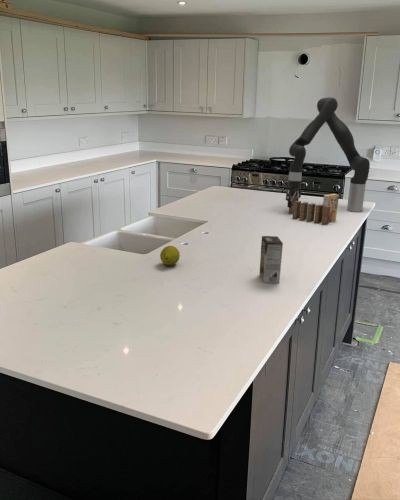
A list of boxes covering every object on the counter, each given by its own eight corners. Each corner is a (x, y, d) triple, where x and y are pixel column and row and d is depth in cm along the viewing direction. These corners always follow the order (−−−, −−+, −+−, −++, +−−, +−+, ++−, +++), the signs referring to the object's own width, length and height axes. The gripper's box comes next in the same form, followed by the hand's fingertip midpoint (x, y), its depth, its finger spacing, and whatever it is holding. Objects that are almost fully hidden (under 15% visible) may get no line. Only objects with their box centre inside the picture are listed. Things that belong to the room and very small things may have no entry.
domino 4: (310, 220, 292) (312, 203, 289) (313, 220, 291) (315, 203, 288) (306, 221, 288) (308, 204, 285) (309, 222, 287) (311, 204, 284)
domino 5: (317, 221, 289) (319, 204, 286) (321, 222, 288) (323, 204, 285) (314, 223, 286) (315, 205, 283) (317, 223, 285) (319, 206, 282)
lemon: (166, 260, 217) (166, 241, 214) (183, 262, 214) (183, 244, 212) (155, 267, 207) (155, 248, 205) (172, 270, 204) (172, 251, 202)
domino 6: (325, 223, 287) (327, 205, 284) (328, 223, 286) (330, 206, 283) (321, 224, 283) (323, 207, 280) (324, 225, 282) (326, 207, 279)
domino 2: (296, 217, 297) (298, 200, 294) (299, 218, 296) (301, 201, 293) (292, 219, 294) (293, 201, 291) (295, 219, 292) (297, 202, 289)
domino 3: (303, 218, 295) (305, 201, 292) (306, 219, 294) (308, 202, 291) (299, 220, 291) (301, 203, 288) (302, 221, 290) (304, 203, 287)
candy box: (330, 219, 295) (333, 193, 290) (336, 221, 292) (339, 194, 287) (320, 221, 290) (323, 194, 285) (326, 223, 287) (329, 196, 282)
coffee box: (258, 274, 202) (261, 235, 198) (274, 274, 203) (277, 235, 198) (263, 283, 194) (266, 242, 189) (279, 283, 194) (283, 242, 190)
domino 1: (292, 212, 311) (293, 195, 308) (295, 212, 309) (296, 196, 306) (288, 213, 307) (289, 197, 304) (291, 214, 306) (292, 197, 303)
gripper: (294, 177, 310) (292, 203, 314) (283, 179, 299) (281, 207, 304) (306, 178, 305) (303, 205, 310) (294, 181, 294) (292, 209, 299)
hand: (292, 206), depth 307 cm, fingers open, 8 cm apart
